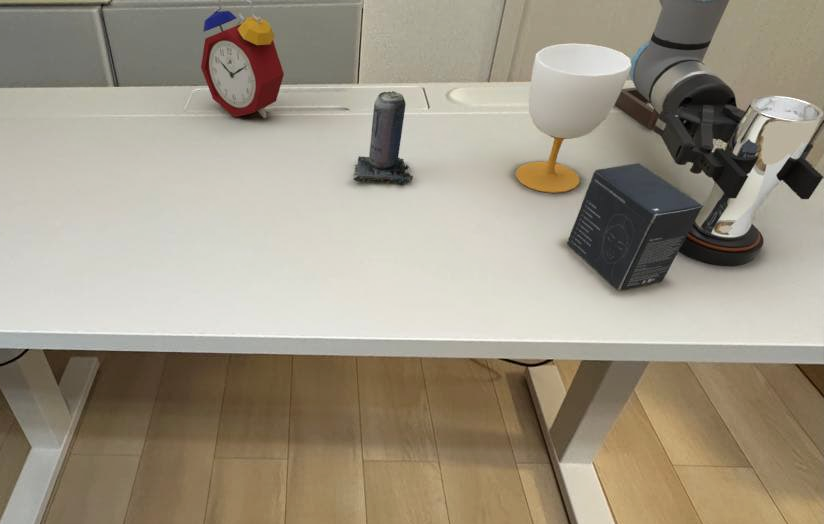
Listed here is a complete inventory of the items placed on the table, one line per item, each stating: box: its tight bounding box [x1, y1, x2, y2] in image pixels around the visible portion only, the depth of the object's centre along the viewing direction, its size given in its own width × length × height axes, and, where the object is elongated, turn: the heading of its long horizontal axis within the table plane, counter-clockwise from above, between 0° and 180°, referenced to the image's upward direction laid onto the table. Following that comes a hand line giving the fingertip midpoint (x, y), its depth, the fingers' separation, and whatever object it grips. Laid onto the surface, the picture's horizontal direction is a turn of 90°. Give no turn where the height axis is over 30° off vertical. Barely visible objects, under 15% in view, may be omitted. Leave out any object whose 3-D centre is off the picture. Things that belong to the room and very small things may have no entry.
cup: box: [515, 42, 632, 194], centre depth 82 cm, size 12×12×17 cm
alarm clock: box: [200, 0, 285, 119], centre depth 103 cm, size 15×9×20 cm, turn 50°
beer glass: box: [693, 95, 824, 240], centre depth 68 cm, size 7×7×15 cm
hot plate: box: [678, 223, 765, 267], centre depth 74 cm, size 10×10×2 cm
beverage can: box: [353, 90, 414, 185], centre depth 87 cm, size 9×8×12 cm
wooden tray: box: [614, 87, 660, 130], centre depth 100 cm, size 11×11×5 cm
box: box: [566, 162, 703, 291], centre depth 70 cm, size 11×7×10 cm, turn 15°
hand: (775, 187), depth 64 cm, fingers closed on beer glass, 7 cm apart
